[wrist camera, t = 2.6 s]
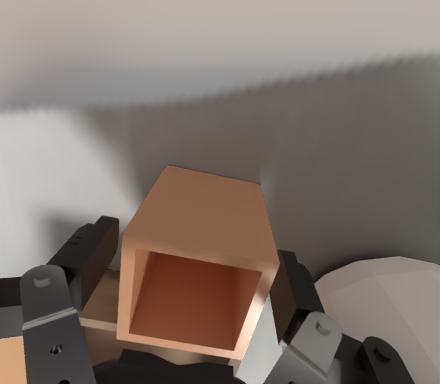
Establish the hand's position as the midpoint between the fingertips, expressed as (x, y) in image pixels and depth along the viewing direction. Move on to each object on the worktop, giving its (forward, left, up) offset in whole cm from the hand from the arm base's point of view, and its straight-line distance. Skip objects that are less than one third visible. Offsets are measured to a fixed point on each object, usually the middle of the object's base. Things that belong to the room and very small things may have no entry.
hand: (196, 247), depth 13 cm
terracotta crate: (0, 0, -4) cm, 4 cm away
